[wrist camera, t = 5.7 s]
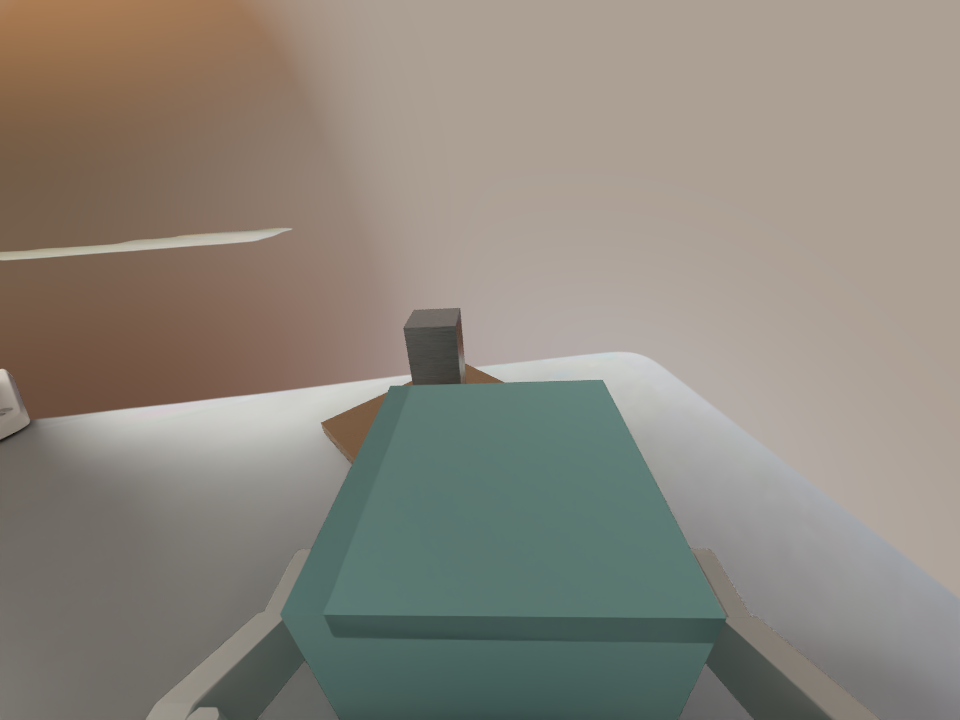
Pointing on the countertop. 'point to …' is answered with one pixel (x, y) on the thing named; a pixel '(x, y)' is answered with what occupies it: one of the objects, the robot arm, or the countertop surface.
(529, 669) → the teal tall prism
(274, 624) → the robot arm
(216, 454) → the countertop surface
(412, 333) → the brown square base plate
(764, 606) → the countertop surface
